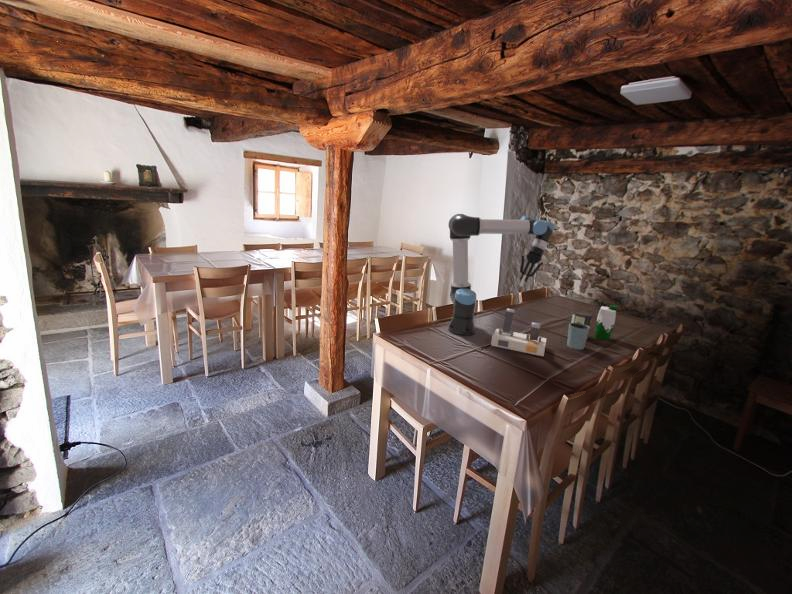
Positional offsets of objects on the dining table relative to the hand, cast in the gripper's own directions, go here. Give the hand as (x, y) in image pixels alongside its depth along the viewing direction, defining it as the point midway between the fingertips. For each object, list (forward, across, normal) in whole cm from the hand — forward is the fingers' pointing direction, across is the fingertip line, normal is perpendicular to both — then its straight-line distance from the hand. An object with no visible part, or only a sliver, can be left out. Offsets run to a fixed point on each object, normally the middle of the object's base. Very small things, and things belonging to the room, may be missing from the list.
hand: (520, 286), depth 219 cm
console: (+31, -14, +14) cm, 37 cm away
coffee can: (+13, -37, -25) cm, 46 cm away
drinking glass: (+20, -38, -6) cm, 43 cm away
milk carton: (+9, -49, -31) cm, 58 cm away
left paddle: (+27, -6, +16) cm, 32 cm away
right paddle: (+24, -20, +16) cm, 35 cm away
